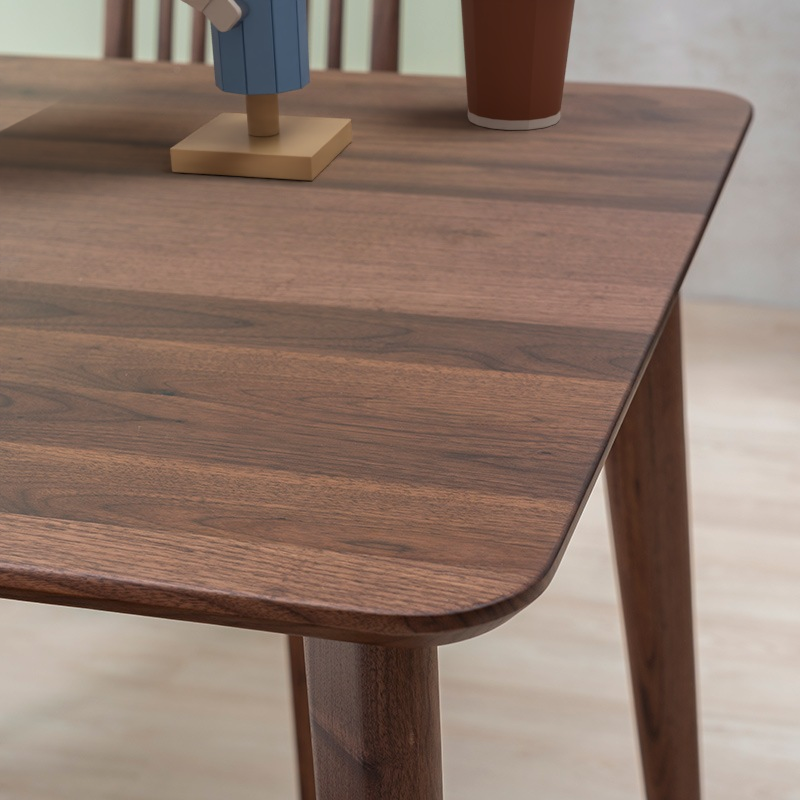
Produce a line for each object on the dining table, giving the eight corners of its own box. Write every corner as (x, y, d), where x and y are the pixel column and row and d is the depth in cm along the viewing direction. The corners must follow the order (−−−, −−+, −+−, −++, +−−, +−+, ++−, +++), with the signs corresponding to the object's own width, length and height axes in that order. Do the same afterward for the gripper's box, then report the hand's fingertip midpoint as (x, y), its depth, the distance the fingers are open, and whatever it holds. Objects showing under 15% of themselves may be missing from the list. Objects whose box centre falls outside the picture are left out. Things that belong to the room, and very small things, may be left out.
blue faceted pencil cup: (203, 93, 76) (190, -46, 72) (236, 71, 81) (226, -60, 77) (291, 97, 75) (283, -45, 71) (319, 75, 80) (313, -58, 76)
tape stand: (171, 172, 77) (154, -6, 72) (223, 134, 85) (211, -29, 80) (312, 181, 75) (304, -1, 70) (352, 141, 83) (347, -25, 78)
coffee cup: (577, 137, 83) (588, -54, 78) (440, 133, 84) (441, -56, 79) (581, 104, 91) (591, -72, 86) (456, 100, 92) (458, -73, 87)
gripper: (26, -203, 64) (208, 5, 65) (225, -214, 81) (367, -48, 82) (-30, -111, 68) (144, 84, 69) (172, -140, 85) (309, 18, 86)
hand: (267, 12), depth 76 cm, fingers closed on blue faceted pencil cup, 6 cm apart
